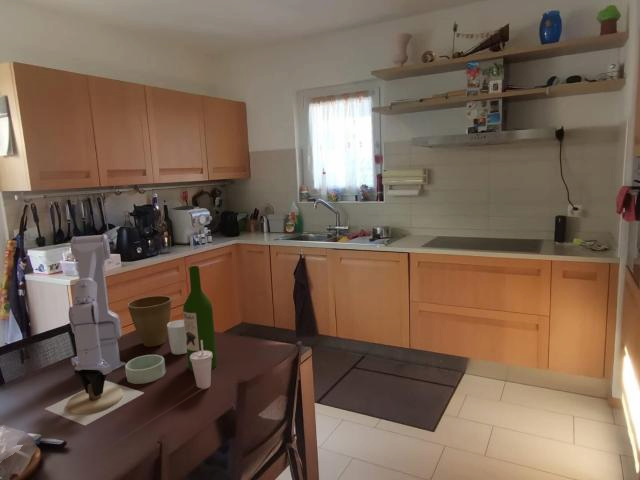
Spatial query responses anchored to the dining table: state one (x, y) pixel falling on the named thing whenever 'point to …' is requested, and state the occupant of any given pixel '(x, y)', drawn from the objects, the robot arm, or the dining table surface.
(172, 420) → the dining table surface
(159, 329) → the plant pot
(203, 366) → the smoothie
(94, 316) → the robot arm
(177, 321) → the white cup
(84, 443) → the dining table surface
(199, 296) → the wine bottle
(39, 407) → the dining table surface
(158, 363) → the bowl
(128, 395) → the mat
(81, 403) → the lid
